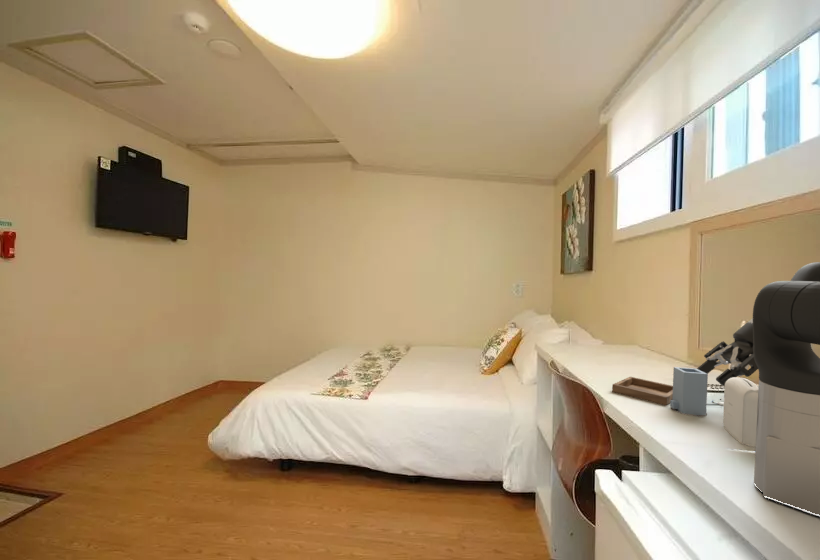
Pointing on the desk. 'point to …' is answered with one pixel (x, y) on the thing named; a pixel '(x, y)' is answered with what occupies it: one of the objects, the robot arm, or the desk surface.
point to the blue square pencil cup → (689, 391)
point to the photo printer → (741, 409)
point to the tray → (644, 390)
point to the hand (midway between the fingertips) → (708, 378)
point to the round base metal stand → (689, 414)
